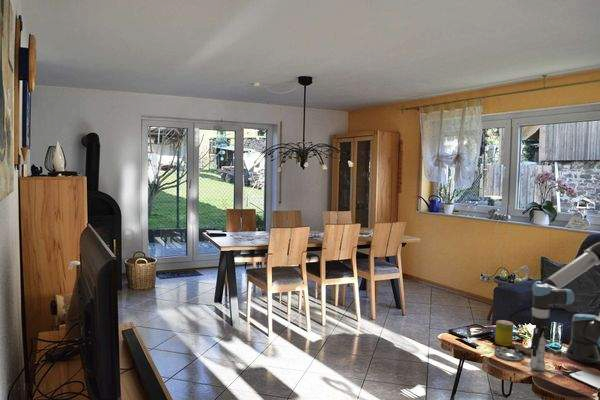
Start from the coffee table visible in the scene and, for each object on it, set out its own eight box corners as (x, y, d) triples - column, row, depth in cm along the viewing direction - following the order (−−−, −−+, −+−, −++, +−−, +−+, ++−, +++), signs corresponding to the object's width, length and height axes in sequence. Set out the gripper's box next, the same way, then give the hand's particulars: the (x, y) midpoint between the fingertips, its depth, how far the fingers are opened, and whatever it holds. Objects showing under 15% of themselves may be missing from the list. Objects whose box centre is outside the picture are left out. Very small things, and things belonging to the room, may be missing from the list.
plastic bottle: (544, 373, 227) (546, 333, 226) (528, 370, 231) (531, 330, 230) (545, 369, 233) (547, 329, 232) (530, 366, 236) (532, 327, 235)
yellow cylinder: (512, 347, 262) (513, 326, 261) (495, 344, 265) (496, 323, 265) (511, 341, 271) (512, 321, 270) (494, 339, 274) (496, 319, 273)
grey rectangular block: (536, 355, 251) (537, 347, 250) (534, 357, 247) (534, 349, 247) (516, 350, 257) (517, 342, 257) (514, 352, 254) (514, 344, 253)
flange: (526, 355, 250) (526, 352, 250) (518, 363, 239) (519, 359, 239) (499, 348, 259) (499, 345, 259) (490, 355, 248) (491, 352, 248)
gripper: (538, 309, 242) (536, 349, 244) (525, 320, 223) (522, 363, 224) (554, 312, 237) (552, 353, 239) (542, 323, 218) (539, 368, 220)
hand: (537, 358), depth 232 cm, fingers open, 13 cm apart
